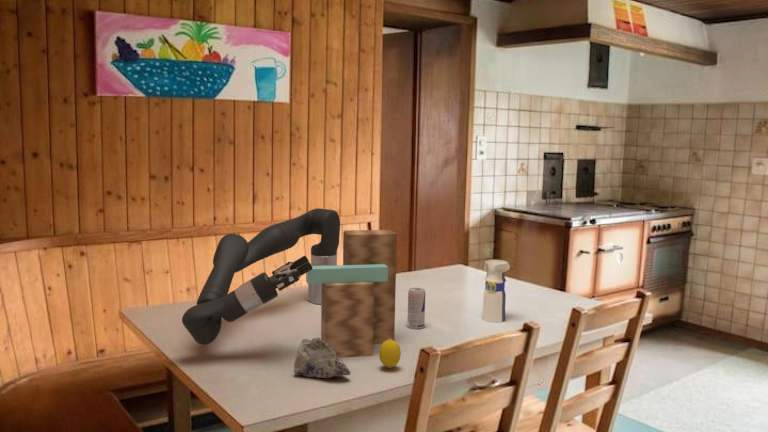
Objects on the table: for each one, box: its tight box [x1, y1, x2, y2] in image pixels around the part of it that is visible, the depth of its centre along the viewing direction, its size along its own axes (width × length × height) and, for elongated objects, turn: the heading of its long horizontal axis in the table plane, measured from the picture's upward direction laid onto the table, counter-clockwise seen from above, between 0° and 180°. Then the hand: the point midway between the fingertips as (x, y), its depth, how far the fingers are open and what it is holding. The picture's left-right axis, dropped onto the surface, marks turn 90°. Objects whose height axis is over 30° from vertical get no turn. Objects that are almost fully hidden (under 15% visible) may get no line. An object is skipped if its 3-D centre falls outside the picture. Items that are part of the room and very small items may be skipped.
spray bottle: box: [481, 245, 511, 323], centre depth 216 cm, size 8×9×25 cm
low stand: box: [320, 282, 374, 358], centre depth 181 cm, size 13×9×20 cm
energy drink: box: [406, 287, 426, 330], centre depth 206 cm, size 5×5×12 cm
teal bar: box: [305, 264, 388, 284], centre depth 180 cm, size 22×4×4 cm, turn 104°
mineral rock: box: [293, 336, 352, 379], centre depth 163 cm, size 13×11×10 cm
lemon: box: [378, 339, 402, 370], centre depth 170 cm, size 6×6×8 cm
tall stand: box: [342, 229, 398, 345], centre depth 191 cm, size 14×8×32 cm, turn 103°
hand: (309, 261), depth 177 cm, fingers open, 8 cm apart
